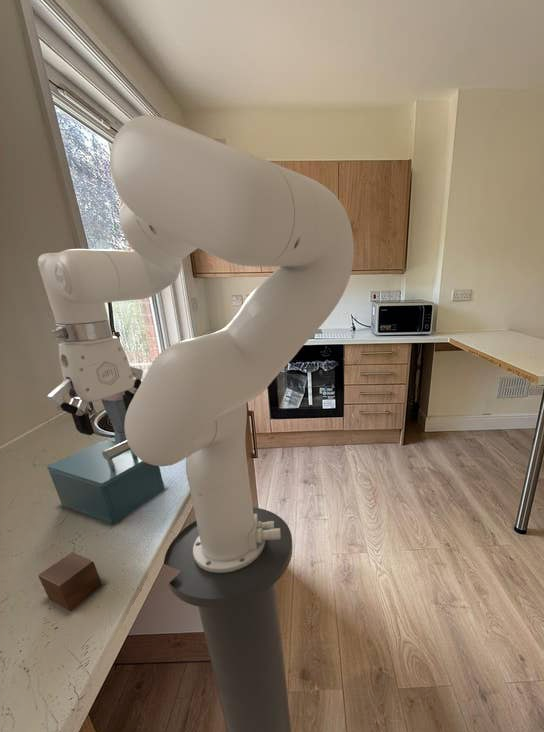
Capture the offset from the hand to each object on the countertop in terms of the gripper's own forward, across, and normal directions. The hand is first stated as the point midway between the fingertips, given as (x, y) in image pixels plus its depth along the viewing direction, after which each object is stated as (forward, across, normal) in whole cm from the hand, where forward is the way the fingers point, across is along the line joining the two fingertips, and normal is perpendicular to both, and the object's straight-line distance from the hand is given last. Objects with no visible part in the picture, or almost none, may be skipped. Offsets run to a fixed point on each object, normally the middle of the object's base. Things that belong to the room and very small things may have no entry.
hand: (111, 423), depth 66 cm
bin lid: (+10, 0, +6) cm, 11 cm away
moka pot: (+19, +16, +20) cm, 32 cm away
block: (+19, -19, -11) cm, 29 cm away
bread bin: (+19, 0, +6) cm, 20 cm away
